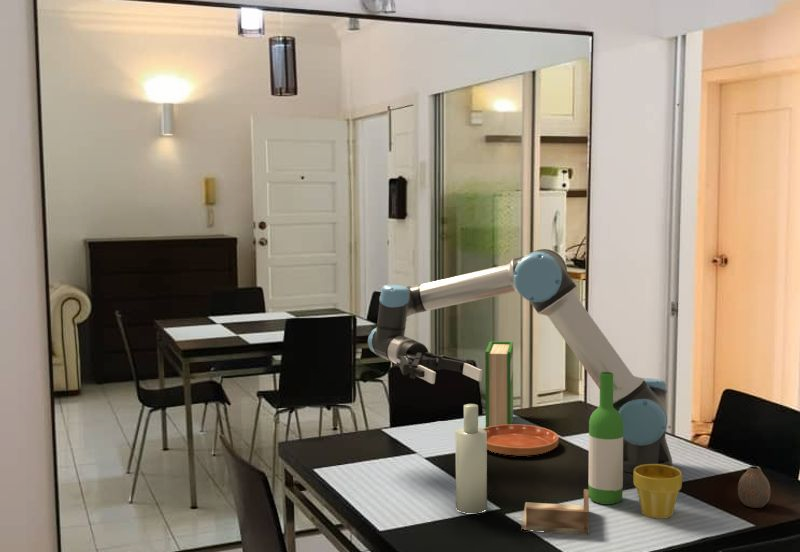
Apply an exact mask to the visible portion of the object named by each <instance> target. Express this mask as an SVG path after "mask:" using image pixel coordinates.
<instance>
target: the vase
mask: <svg viewBox="0 0 800 552" xmlns="http://www.w3.org/2000/svg"><path fill="white" fill-rule="evenodd" d="M771 493H772V492H771V486H770V482H769V479H768V477H767V476H766V475H765V474H764V473H763V471H762V469H761V467H760V466H756V465H751V466H748V469H747V470H746V472H744V473H743V474H742V475H741V477H740V478H739V481H738V485H737V495H738V497H739V500H740V502H742V504H743V505H745V506H746V507H748V508H753V509H755V508H756V509H759V508H760V509H761V508H763V507H765V506H766V504H767V503H768V502H769V500H770V497H771Z"/></svg>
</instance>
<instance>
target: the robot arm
mask: <svg viewBox="0 0 800 552" xmlns="http://www.w3.org/2000/svg"><path fill="white" fill-rule="evenodd" d="M577 290H578V286H577V285H576V283H575V282H574V280H573V279H572V278H571V276H570V275H569V273H568V269H567V264H566V262H565V260H564V258H563V257H562V256H561V255H560V254H559V253H558V252H556V251H554V250H551V249H545V248H542V249H537V250H534V251H532V252H529V253H528V254H526V255H523V256H519V257H515V258H512V259H511V260H510V262H509V263H507V264H503V265H499V266H493V267H490V268H486V269H485V268H484V269H482V270H477V271H473V272H467V273H464V274H460V275H455V276H451V277H448V278H447V277H446V278H443V279H437V280H435V281H434V280H433V281H430V282H424V283H421V284H415V285H412V286H410V285H409V286H408V285H407V286H405V285H404V286H403V285H400V284H385V285H382V287H381V291H380V296H379V300H378V301H379V305H378V313H377V314H378V315H377V323H376V327H375V328H373V329H372V330H371V331H370V334H369V335H368V338H367V345H368V348H369V350H370V351H371V352H372V353H374V354H375V355H376V356H378V357H379V358H381V359H385V360H387V361H388V362H391V363H393V364H396V366H398V367H399V368H400V371H401V374H402V376H408V375H409V374H410V375H409V378H410V379H413V380H414V379H416V377H417V378H419V379H422V380H424V381H426V382H427V383H429V384H431V385H435V382H436V375H437V373H436V371H434V370H437V371H440V370H447V371H453V372H458V373H462V375H464V376H466V377H469V378H471V379H473V380H475V381H477V382H481V381H482V378H483V377H482V376H483V369H480V368H478V367H476V366H474V362H473V361H470V360H469V359H461V358H459V357H455V356H450V355H447V354H443V353H439V354H435V353H434V354H433V353H432V352H429V350H428V347H427V346H426V345H425V344H423V343H421V342H419V341H417V340H414V339H413V338H410V337H408V336H406V335H405V334H406V326H407V320H408V319H407V318H408V317H409V316H412V315H415V314H420V313H424V312H427V311H433V310H437V309H441V308H446V307H451V306H454V305H455V306H456V305H460V304H464V303H469V302H474V301H478V300H479V301H480V300H483V299H487V298H488V299H489V298H492V297H498V296H501V295H507V294H510V293H514V292H515V293H518V294H519V295H520V296H522V297H523V298H524V299H525V300H527V301H528V302H529V304H531V306H532V307H533V308H534V310H535V311H536V313H537V314H538V315H544V316H547V317H548V319H549V320H550V322H551V324H553V326H554V328H555V329H556V331H558V333H559V334H560V335H561V337H562V339H563V340H564V341H565V343H566V344H567V345H568V347H569V348H570V350H571V351H572V352H573V354H574V355H575V357H576V358H577V360H578V361H579V362H580V364H581V366H583V368H584V370H586V372H587V374H588V375H589V376H590V377H591V378H590V379H592V380H593V382H594V383H595V385H596V386H597V387H598V389H599V390H600V373H601V372H611V373H613V407H614V408H615V409H616V410H617V411H618V412H619V413H620V415H621V417H622V420H623V472H627V473H631V474H633V470H634V468H635V467H637V466H640V465H644V464H662V465H668V466H672V467H673V458H672V455H671V452H670V448H669V445H668V443H667V438H666V430H667V429H666V428H667V426H668V416H667V393H668V389H667V383H666V382H665V381H664V380H662V379H659V378H649V377H641V376H640V377H638V376H635V375H633V374H632V372H631V370H630V368H629V367H628V365H626V363H625V362H624V361H623V359H622V358H621V357H620V355H619V354H618V353H617V351H616V349H615V348H614V346H612V345H613V344H611V343H610V341H609V340H608V338H607V337H606V336H605V334H604V332H602V330H601V329H600V327H599V326H598V324H597V323H596V322H595V320H594V319H593V318H592V316H591V315H590V313H589V312H588V311H587V309H586V308H585V306H584V305H583V303H581V301H580V299H579V298H578V297H577ZM436 363H437V364H436ZM436 365H437V366H436Z"/></svg>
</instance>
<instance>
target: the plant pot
mask: <svg viewBox="0 0 800 552" xmlns="http://www.w3.org/2000/svg"><path fill="white" fill-rule="evenodd" d="M632 474H633V475H632V476H633V477H632V478H633V479H632V480H633V482H632V483H633V485H634V486H635V488H636V491H637V495H638V500H639V506H640V511H641V513H642V514H643V515H644V516H645V517H647V518H651V519H669V518H670V517H672V516H673V513H674V510H675V506H676V502H677V498H678V494H679V491H680V490H681V489H682V486H683V473H682V471H681V470H680V469H679V468H676V467H674V466H673V465H672V466H668V465H662V464H644V465H640V466H637V467H635V468H634V470H633V473H632Z"/></svg>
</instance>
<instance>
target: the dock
mask: <svg viewBox="0 0 800 552" xmlns="http://www.w3.org/2000/svg"><path fill="white" fill-rule="evenodd" d="M588 491H589V488H588V489H587V488H584V489H583V505H578V504H564V503H563V504H562V503H560V504H559V503H545V502H544V503H543V502H531V501H530V502H527V501H525V503H524V510H523V514H522V520H521V530H522V529H524V530H533V531H544V532H543V533H547V532H552V534H563V533H565V535H567V534H568V535H582V536H589V535H590V497H589V492H588Z"/></svg>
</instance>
